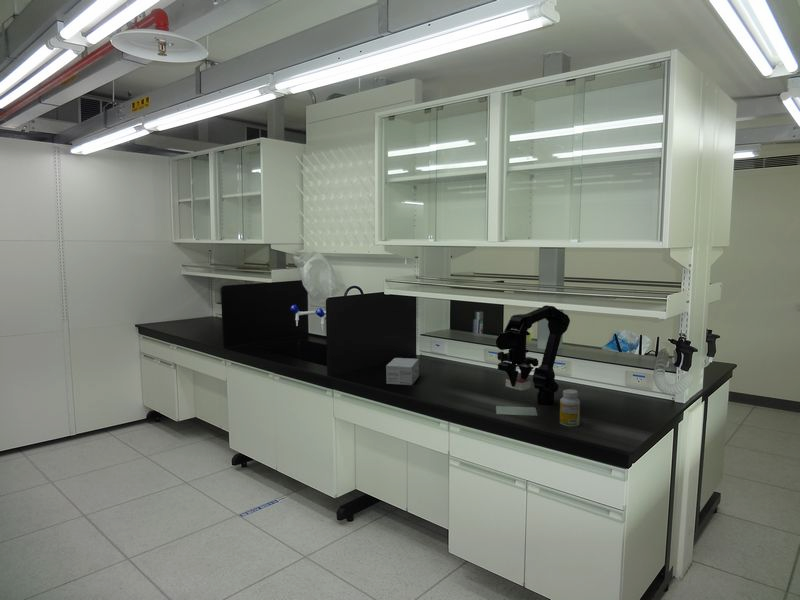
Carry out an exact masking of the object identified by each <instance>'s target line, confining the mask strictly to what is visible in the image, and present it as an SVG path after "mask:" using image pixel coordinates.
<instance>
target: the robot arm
mask: <svg viewBox="0 0 800 600" xmlns="http://www.w3.org/2000/svg"><path fill="white" fill-rule="evenodd" d="M543 320H546V321H547V328H548V330H549V331H548V332H549V334H548V336H547V337H548V338H547V341H546V345H545V349H544V352H543V357H542V359H541V363H540V365H539V360H538V358H534V357H531V356H527V353H529V349H527V336H530V335H531V333H530V332H529V331H528V330H529V329H531V328H532V326H533V324H535V323H537V322H540V321H543ZM570 323H571V319H570V317H569V315H568V314H566V313H564V312H563V311H561V310H559V309H558V308H557V307H556V306H553V305H547V304H546V305H543V306H542V307H539V308H537V309H535V310H533V311H530V312H527V313H522V314H521V313H520V314H513V315H512V316H511V317H510V318H509V320H508V322H507V325H506V326H505V328H504V330H503V331H501V332H500V333H499V336H497V338H496V340H495V345H496V347H497V349H499V350H500V351H499V352H497V360H498V361H500V362H499V363H497V370H498V371H502V372H505V373H506V374H507V377H508V378H509V379H510V382H511V385H512V386H513V387H514V386H515V384H516V380H517V377H518V375H519V370H520V378H522V379H526V380H528V377H529V376H530V373H532V370H533V369H534V370H533V375H532V376H531V377H532V382H533V386H534V389H537V392H536V403H537V405H538V406H555V393H557V392H558V391H559V387H560V386H559V384H558V383H557V382H556V381H555V379H556V378H555V377H556V374H555V371H554V366H555V362H556V358H557V356H558V355H557V354H558V351H559V347H560V343H561V338H562V336H563V334H565V332H567V331H568V329H569V325H570ZM506 350H508V352H504V351H506ZM538 366H539V367H538ZM534 367H535V368H534ZM517 368H519V370H517Z"/></svg>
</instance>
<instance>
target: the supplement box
mask: <svg viewBox="0 0 800 600" xmlns="http://www.w3.org/2000/svg"><path fill="white" fill-rule="evenodd" d="M419 367H420V360H419V358H408V357H407V358H403V357H394V358H393V359H392V360H391V361H390V362H388V363H387V364H386V366H385V370H386V371H385V374H386V375H385V376H386V378H385V379H386V381H385V382H386V384H387V385H388V384H389V385H390V384H391V385H404V386H406V385H407V386H412V385H413V384H414V383H415V382H416V381H417V379H418V378H419V376H420V369H419Z"/></svg>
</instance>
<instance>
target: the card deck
mask: <svg viewBox="0 0 800 600" xmlns="http://www.w3.org/2000/svg"><path fill="white" fill-rule="evenodd" d="M531 382H532V381H531V380H529V379H522V378H521V377H518V376H517V380H516V384H515V386H514V387H513V386H512V385H511V382H510V379H509V377H508V378H506V379H505V387H506V388H511V389H514V390H517V391H518V390H519V391H526V390H529V389H531Z"/></svg>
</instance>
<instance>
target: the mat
mask: <svg viewBox="0 0 800 600" xmlns="http://www.w3.org/2000/svg"><path fill="white" fill-rule="evenodd" d="M495 413H496V415H511V416H512V415H513V416H533V417H535V416H537V417H538V412H537V409H536V407H531V406H530V407H529V406H528V407H527V406H526V407H525V406H504V405H503V406H501V405H496V406H495Z"/></svg>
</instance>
